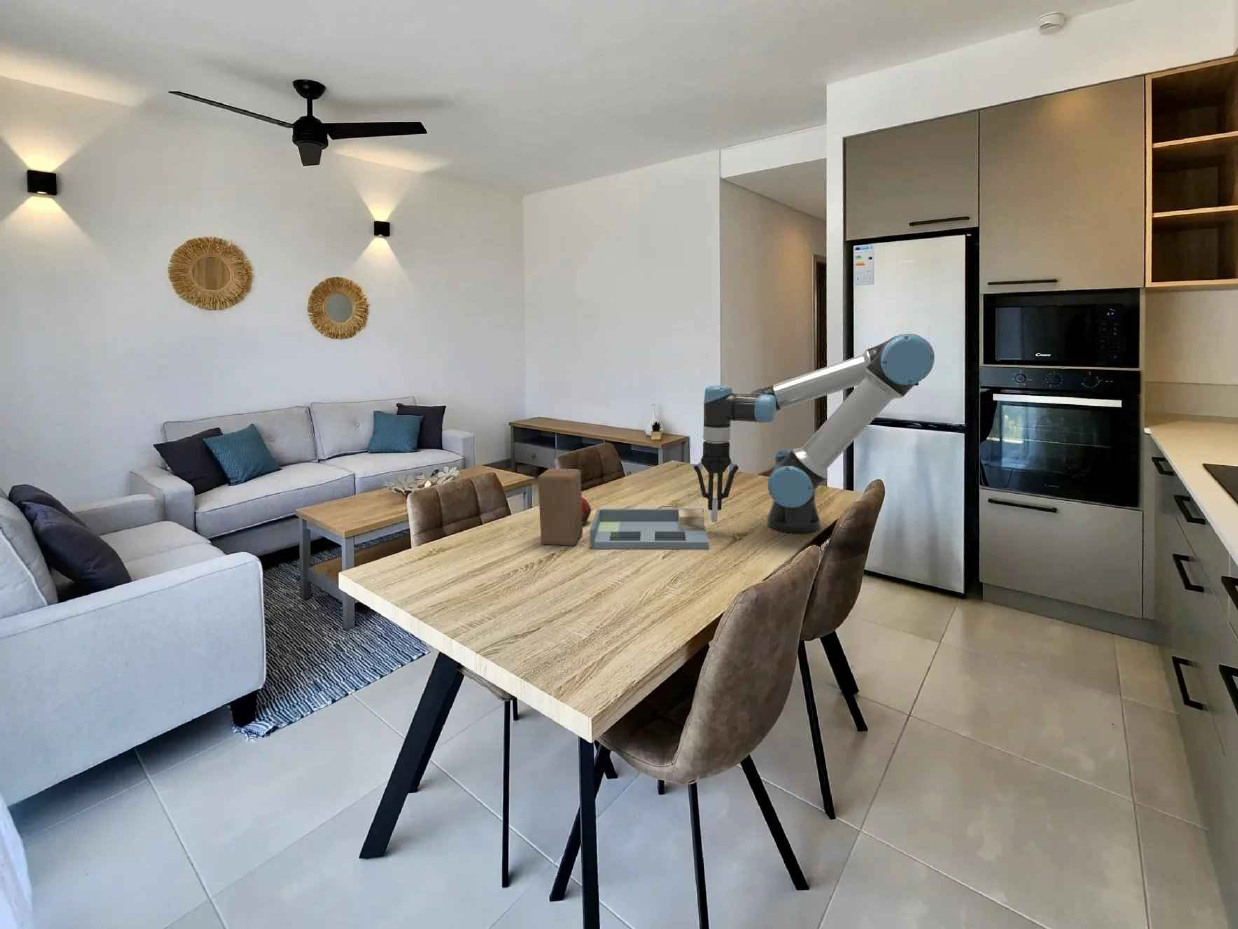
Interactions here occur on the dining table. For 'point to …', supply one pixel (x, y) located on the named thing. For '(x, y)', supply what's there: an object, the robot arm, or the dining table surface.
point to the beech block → (691, 520)
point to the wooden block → (560, 506)
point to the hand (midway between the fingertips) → (714, 520)
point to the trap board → (643, 530)
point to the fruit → (585, 510)
